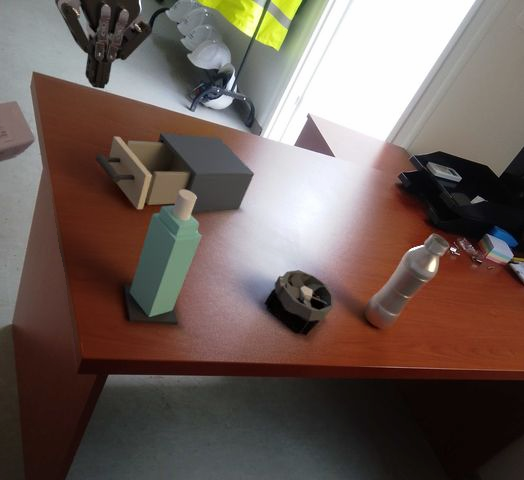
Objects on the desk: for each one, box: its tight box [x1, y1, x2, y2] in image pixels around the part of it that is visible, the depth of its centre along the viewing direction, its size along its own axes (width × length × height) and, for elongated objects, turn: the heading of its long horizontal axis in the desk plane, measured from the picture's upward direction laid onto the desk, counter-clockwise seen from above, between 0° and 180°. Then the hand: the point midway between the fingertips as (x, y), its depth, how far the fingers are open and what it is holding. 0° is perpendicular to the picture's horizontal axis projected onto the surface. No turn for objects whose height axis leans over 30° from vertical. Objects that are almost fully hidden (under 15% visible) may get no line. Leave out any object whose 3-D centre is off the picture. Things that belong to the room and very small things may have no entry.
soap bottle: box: [130, 189, 202, 317], centre depth 61 cm, size 4×5×18 cm
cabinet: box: [157, 132, 255, 213], centre depth 91 cm, size 15×13×9 cm
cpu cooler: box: [263, 269, 335, 337], centre depth 80 cm, size 10×6×10 cm
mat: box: [123, 283, 179, 325], centre depth 67 cm, size 7×7×1 cm
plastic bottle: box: [364, 233, 450, 329], centre depth 84 cm, size 6×7×20 cm
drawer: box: [95, 136, 193, 210], centre depth 83 cm, size 18×11×7 cm, turn 132°
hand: (96, 85), depth 65 cm, fingers closed
